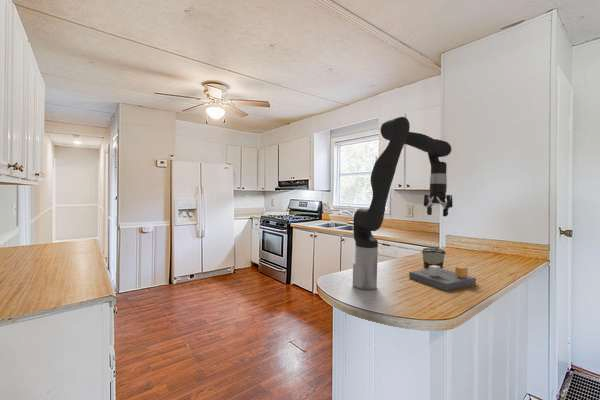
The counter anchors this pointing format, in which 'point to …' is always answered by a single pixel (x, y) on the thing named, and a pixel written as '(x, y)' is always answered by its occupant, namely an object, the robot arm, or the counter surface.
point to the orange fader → (461, 271)
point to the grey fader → (434, 270)
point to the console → (442, 279)
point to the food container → (433, 257)
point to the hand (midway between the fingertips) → (437, 215)
